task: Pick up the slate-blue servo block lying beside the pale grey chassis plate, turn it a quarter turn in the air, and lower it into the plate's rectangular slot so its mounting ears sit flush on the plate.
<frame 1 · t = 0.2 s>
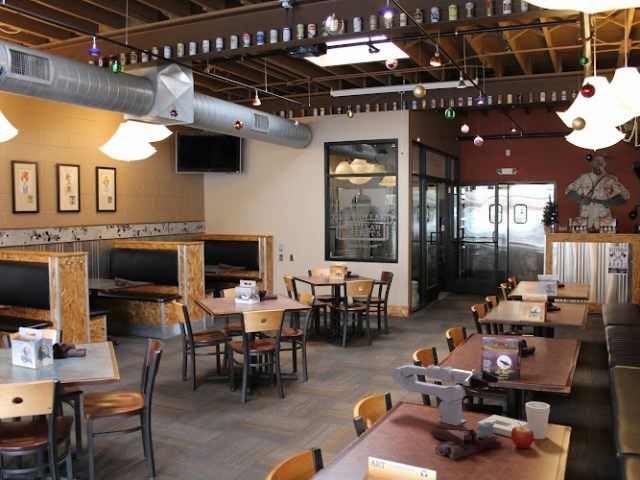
hand: (492, 382, 264), 21 cm above the table, tool horizontal, fingers open, 7 cm apart
chassis plate: (502, 428, 270), on the table
servo: (485, 437, 260), on the table
apple: (522, 447, 249), on the table
foam cup: (537, 436, 260), on the table
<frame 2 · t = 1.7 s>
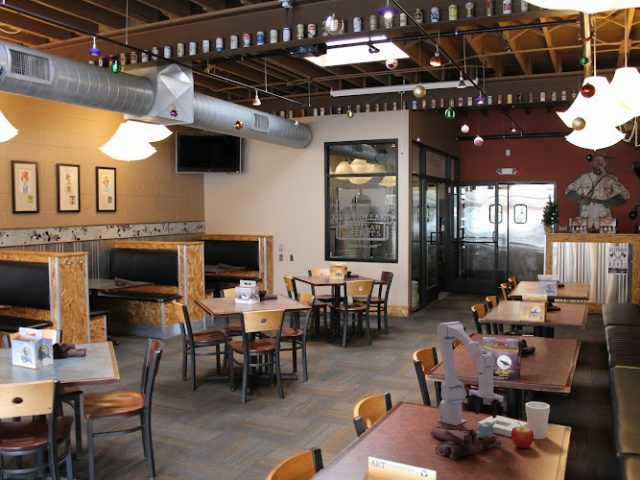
hand: (486, 415, 259), 9 cm above the table, tool pointing down, fingers open, 7 cm apart
nothing on the table moved.
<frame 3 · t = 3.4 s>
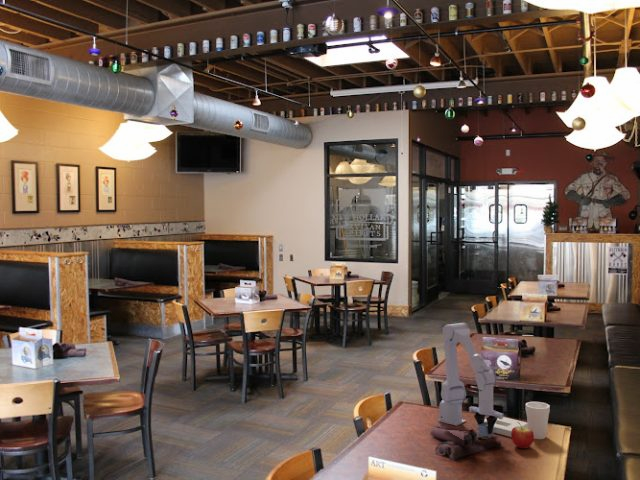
hand: (485, 432, 260), 2 cm above the table, tool pointing down, fingers closed on servo, 3 cm apart
servo: (485, 437, 260), on the table, touching gripper
everything else where it was.
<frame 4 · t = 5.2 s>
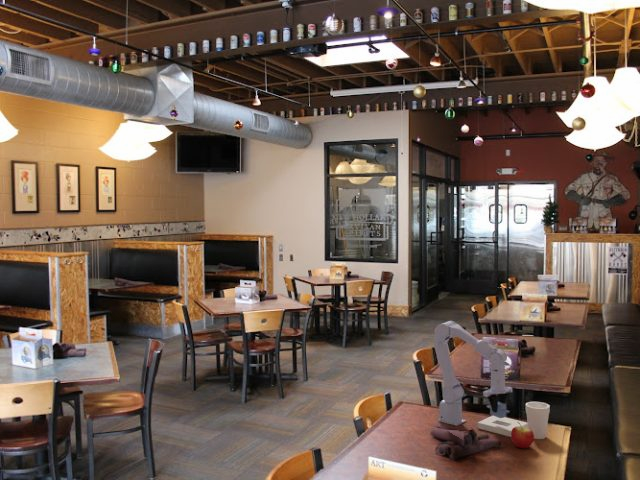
hand: (497, 411, 266), 9 cm above the table, tool pointing down, fingers closed on servo, 3 cm apart
servo: (497, 415, 266), point 7 cm above the table, touching gripper
everything else where it was.
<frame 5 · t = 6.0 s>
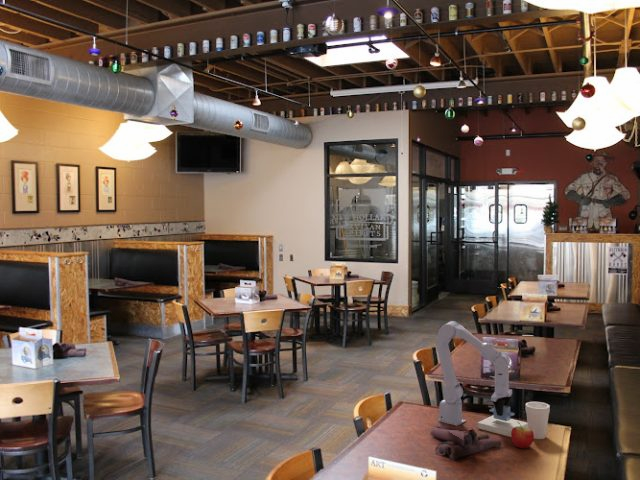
hand: (501, 414, 269), 6 cm above the table, tool pointing down, fingers closed on servo, 3 cm apart
servo: (501, 418, 269), point 4 cm above the table, touching gripper
everything else where it was.
when the fingers open (4 cm above the table, at t = 6.8 s): servo drops 2 cm, resting on chassis plate.
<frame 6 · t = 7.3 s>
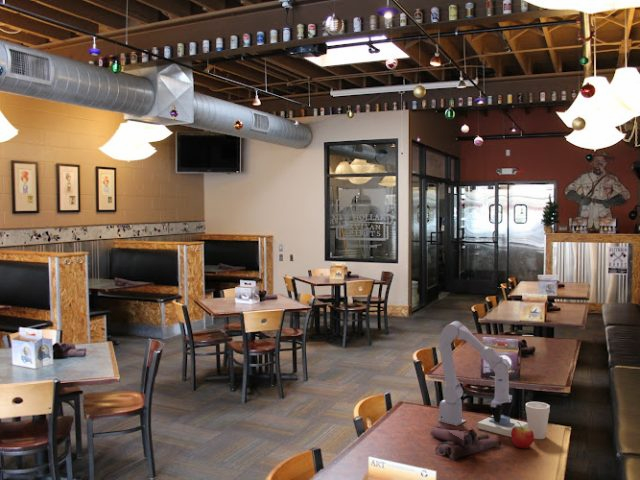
hand: (501, 420, 269), 4 cm above the table, tool pointing down, fingers open, 7 cm apart
servo: (501, 429, 269), resting on chassis plate
everything else where it was.
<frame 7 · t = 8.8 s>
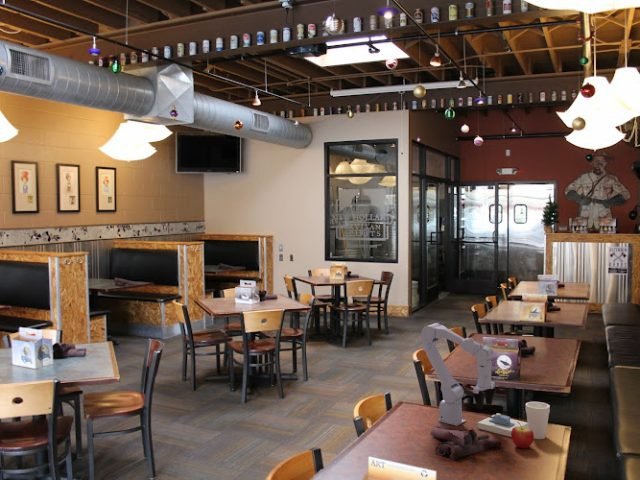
hand: (484, 406, 270), 9 cm above the table, tool pointing down, fingers open, 7 cm apart
nothing on the table moved.
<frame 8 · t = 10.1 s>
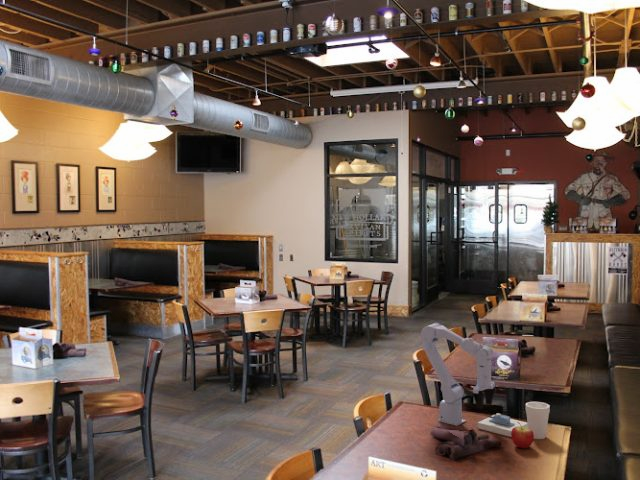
hand: (484, 406, 270), 9 cm above the table, tool pointing down, fingers open, 7 cm apart
nothing on the table moved.
at the end: servo 0.1 cm from the target spot on the chassis plate, point 0.0 cm above the chassis plate's base; servo tilted 0°; the gripper is holding nothing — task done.
